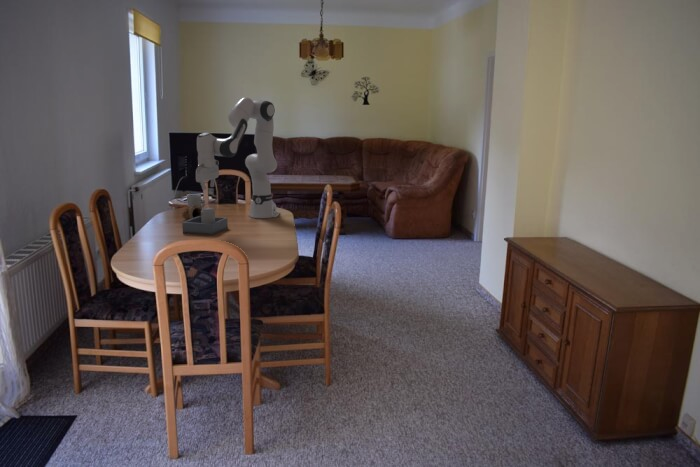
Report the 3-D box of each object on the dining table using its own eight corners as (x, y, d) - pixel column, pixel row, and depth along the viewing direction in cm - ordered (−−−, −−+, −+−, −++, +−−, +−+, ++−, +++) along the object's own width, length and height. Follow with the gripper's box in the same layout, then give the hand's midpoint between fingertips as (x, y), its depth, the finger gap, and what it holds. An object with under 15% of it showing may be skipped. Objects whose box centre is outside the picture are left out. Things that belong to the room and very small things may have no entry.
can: (201, 230, 306) (200, 209, 304) (202, 227, 314) (201, 206, 311) (215, 230, 308) (214, 209, 305) (216, 227, 315) (215, 206, 312)
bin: (199, 226, 322) (198, 216, 321) (227, 228, 318) (227, 217, 317) (182, 233, 305) (182, 222, 304) (213, 235, 301) (212, 224, 300)
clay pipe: (178, 229, 332) (199, 223, 327) (172, 212, 330) (193, 205, 325) (194, 222, 349) (214, 216, 345) (188, 206, 347) (208, 199, 343)
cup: (201, 211, 367) (200, 193, 364) (206, 213, 360) (205, 195, 357) (185, 213, 361) (184, 194, 358) (190, 215, 354) (189, 196, 351)
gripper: (202, 165, 295) (204, 191, 298) (220, 161, 314) (221, 185, 317) (191, 165, 296) (193, 191, 300) (209, 161, 316) (211, 185, 319)
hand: (208, 188), depth 309 cm, fingers open, 8 cm apart
